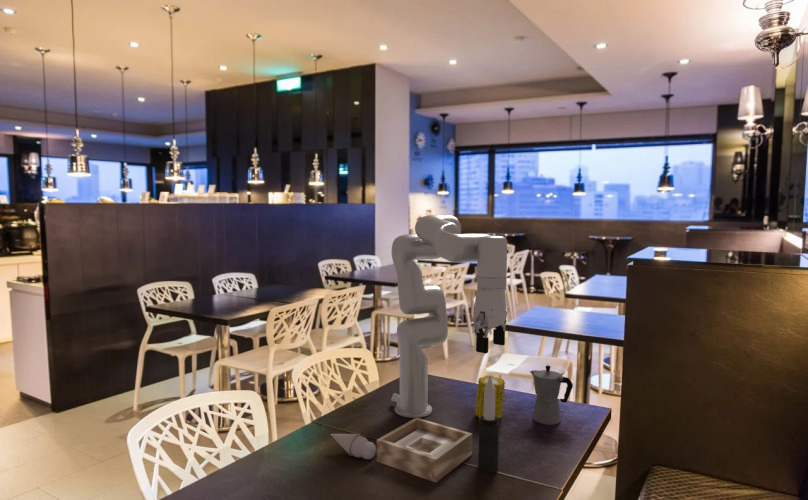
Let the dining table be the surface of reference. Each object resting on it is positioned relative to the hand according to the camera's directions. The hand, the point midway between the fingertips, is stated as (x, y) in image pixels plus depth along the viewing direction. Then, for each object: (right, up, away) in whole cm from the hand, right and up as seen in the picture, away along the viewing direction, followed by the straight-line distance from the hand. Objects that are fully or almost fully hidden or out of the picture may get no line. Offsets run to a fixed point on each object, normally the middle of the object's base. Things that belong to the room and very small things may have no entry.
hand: (490, 348), depth 138 cm
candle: (0, -32, +3) cm, 32 cm away
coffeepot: (+25, -30, +34) cm, 52 cm away
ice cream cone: (-37, -32, +9) cm, 50 cm away
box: (-17, -32, +8) cm, 37 cm away
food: (+6, -30, +36) cm, 47 cm away
